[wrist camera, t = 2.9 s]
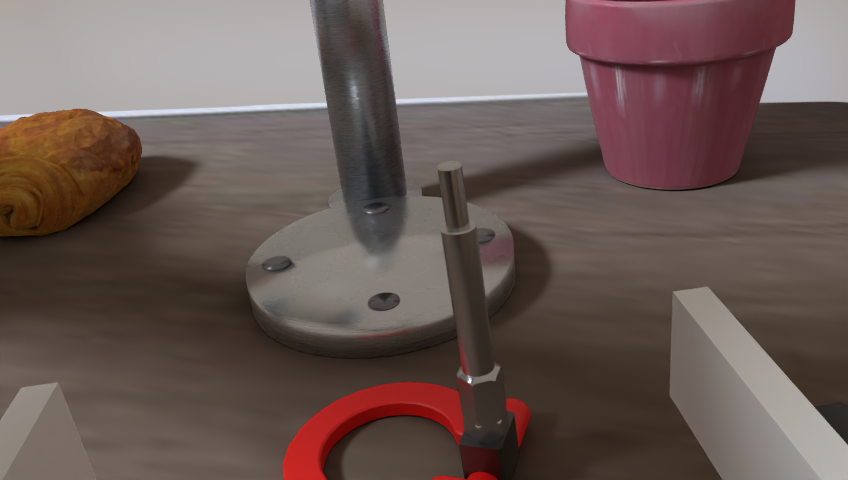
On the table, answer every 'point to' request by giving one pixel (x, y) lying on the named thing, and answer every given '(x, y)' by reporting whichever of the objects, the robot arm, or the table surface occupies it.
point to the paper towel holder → (367, 221)
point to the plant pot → (675, 82)
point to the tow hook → (456, 410)
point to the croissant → (62, 169)
